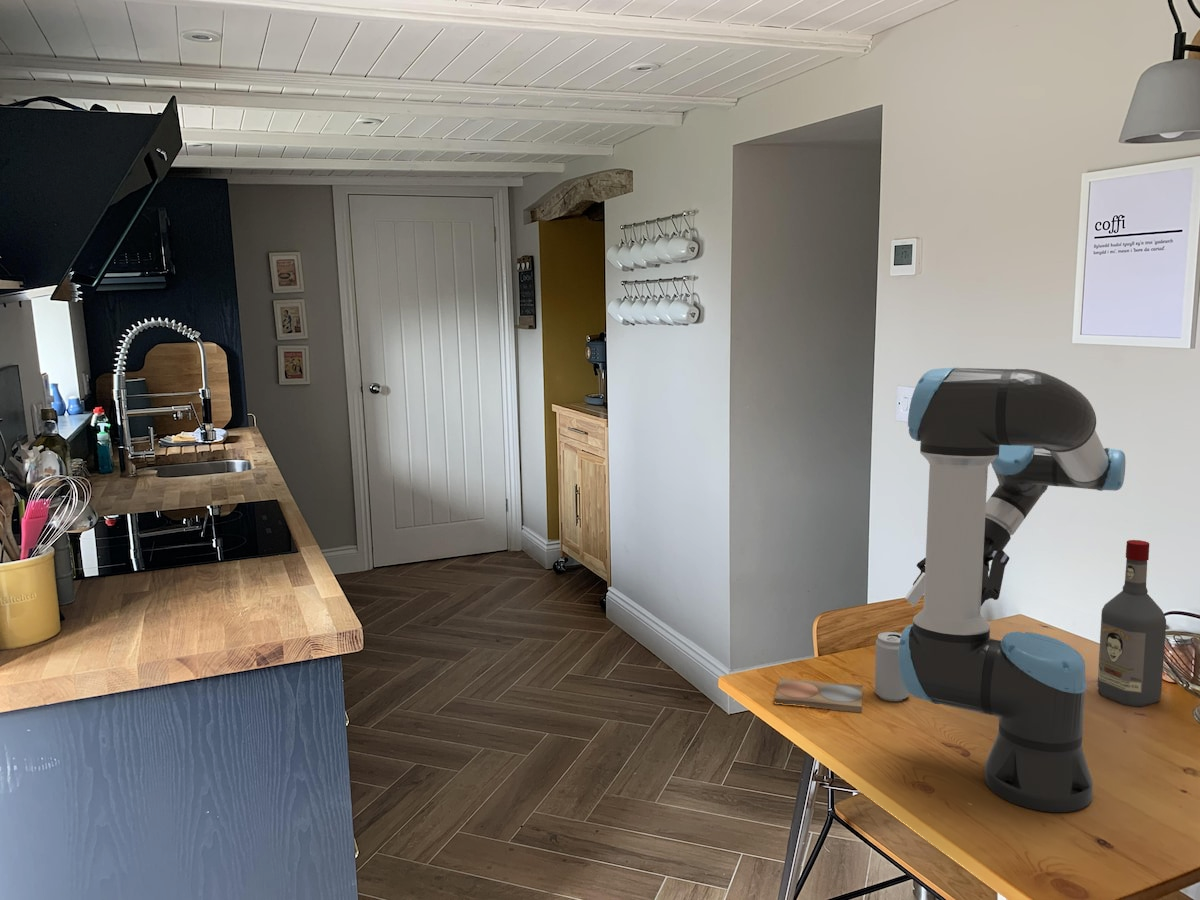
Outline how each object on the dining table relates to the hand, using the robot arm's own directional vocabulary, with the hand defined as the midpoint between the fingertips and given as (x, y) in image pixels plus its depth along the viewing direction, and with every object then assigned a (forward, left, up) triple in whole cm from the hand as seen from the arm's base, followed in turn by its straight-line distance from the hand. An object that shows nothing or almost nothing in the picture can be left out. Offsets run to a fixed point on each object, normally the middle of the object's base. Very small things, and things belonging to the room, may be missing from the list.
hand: (932, 612), depth 177 cm
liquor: (+4, -36, -16) cm, 39 cm away
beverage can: (-6, +7, -16) cm, 18 cm away
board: (-10, +21, -15) cm, 28 cm away
